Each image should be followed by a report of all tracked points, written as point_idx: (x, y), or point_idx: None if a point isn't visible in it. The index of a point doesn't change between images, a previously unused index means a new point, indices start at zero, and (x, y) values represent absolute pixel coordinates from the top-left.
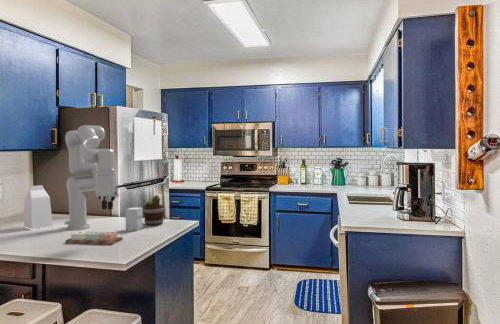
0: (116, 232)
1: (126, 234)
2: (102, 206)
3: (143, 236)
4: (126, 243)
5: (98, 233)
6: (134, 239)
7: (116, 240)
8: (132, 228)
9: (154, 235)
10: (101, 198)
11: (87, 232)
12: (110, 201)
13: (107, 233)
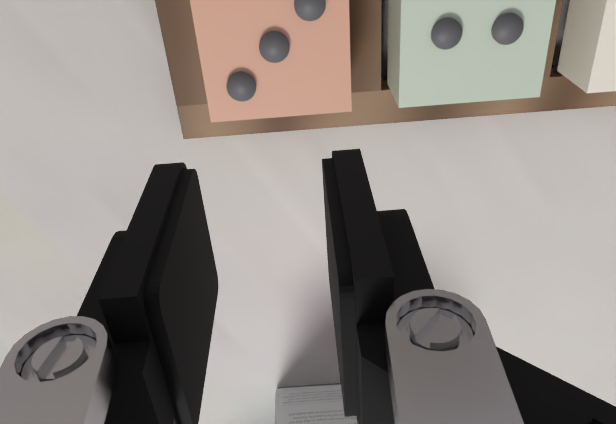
0: (210, 115)
1: (288, 291)
2: (363, 185)
3: (85, 264)
4: (33, 4)
5: (400, 15)
6: (82, 162)
7: (160, 15)
8: (314, 400)
9: (17, 307)
10: (467, 394)
11: (589, 61)
12: (45, 329)
13: (274, 32)
